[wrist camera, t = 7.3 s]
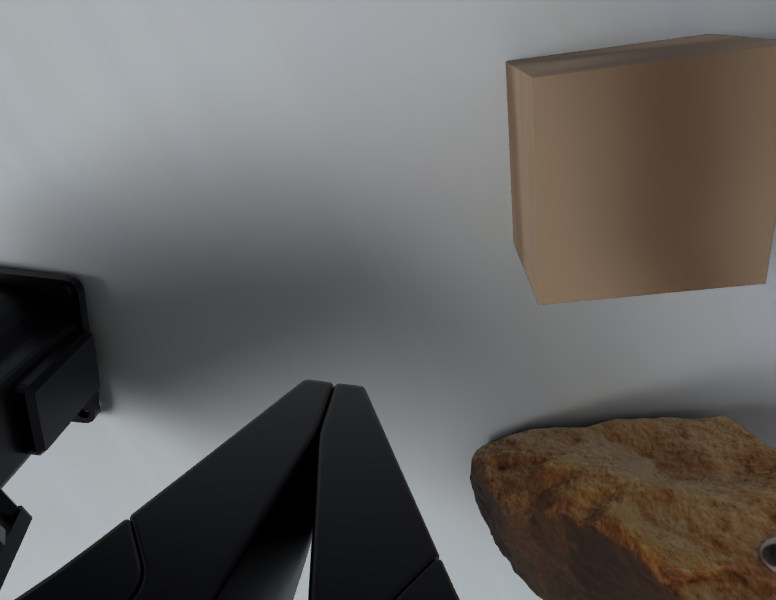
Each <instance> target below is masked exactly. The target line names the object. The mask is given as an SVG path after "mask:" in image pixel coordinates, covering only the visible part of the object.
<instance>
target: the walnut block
mask: <svg viewBox="0 0 776 600" xmlns="http://www.w3.org/2000/svg"><path fill="white" fill-rule="evenodd" d="M506 79H507V102H508V124H509V147H510V170H511V193H512V216H513V238H514V245H515V248H516V250H517V253H518V255H519V258H520V260H521V263H522V265H523V268H524V270H525V273H526V275H527V278H528V280H529V283H530V285H531V288H532V290H533V293H534V295H535V298H536V300H537V303H538V305H544V304H554V303H565V302H575V301H586V300H596V299H607V298H618V297H628V296H639V295H649V294H660V293H670V292H681V291H691V290H702V289H712V288H723V287H733V286H744V285H755V284H765V283H766V278H767V271H768V264H769V258H770V251H771V245H772V238H773V232H774V225H775V219H776V40H772V39H761V38H749V37H738V36H727V35H716V34H705V35H697V36H690V37H682V38H675V39H668V40H660V41H653V42H645V43H638V44H631V45H623V46H616V47H608V48H601V49H594V50H586V51H579V52H571V53H564V54H557V55H549V56H542V57H535V58H527V59H520V60H512V61H506Z"/></svg>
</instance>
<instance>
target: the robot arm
mask: <svg viewBox="0 0 776 600" xmlns="http://www.w3.org/2000/svg"><path fill="white" fill-rule="evenodd" d="M64 286H65V287H68V288H69V289H70V290H71V292H72V294H70V293H68V292H66V291H65V289H64ZM99 388H100V382H99V374H98V367H97V359H96V352H95V344H94V337H93V335H92V333H91V332H90V330H89V324H88V317H87V309H86V302H85V295H84V288H83V286H82V284H81V282H80V281H79V280H78V279H76V278H75V277H72V276H68V275H59V274H50V273H41V272H33V271H24V270H15V269H6V268H0V589H1V587H2V585H3V583H4V580H5V578H6V576H7V574H8V571H9V569H10V567H11V565H12V562H13V560H14V558H15V556H16V553H17V551H18V549H19V547H20V545H21V542H22V540H23V538H24V536H25V533H26V531H27V529H28V527H29V524H30V522H31V520H32V516H31V515H30V514H29V513H28V512H27V511H26V510H25V509H24V508H23V507H22V506H17V505H16V504H15V503H14V502H13V501H12V500H11V499H10V498H9V497H8V496H7V494H6V493H5V492H4V491H3V490H2V487H3V486H4V485H5V484H6V483H7V482H8V481H9V479H10V478H11V477H12V476H13V475H14V474H15V473H16V471H17V470H18V469H19V468H20V467H21V466H22V464H23V463H24V462H25V461H26V460H27V459H28V458H29V456H30V455H31V454H32V455H41V454H42V453H44V452H45V451H46V450H47V449H48V448H49V447H50V446H51V445H52V444H53V442H54V441H55V440H56V439H57V438H58V437H59V435H60V434H61V433H62V432H63V431H64V429H65V428H66V427H67V426H68V425H69V424H70V422H71V421H72V422H81V423H89V422H92V421H93V420H94V419H95V418H96V416H97V415H98V414H99V412H100V405H99V398H98V389H99ZM83 408H84V409H86V410H87V411H88V412H86V411H85V410H83ZM311 539H312V545H311V562H310V579H309V597H308V600H460V599H459V597H458V595H457V593H456V591H455V589H454V587H453V585H452V583H451V580H450V578H449V576H448V574H447V571H446V569H445V567H444V565H443V562H442V561H441V560H439V554H438V552H437V550H436V547H435V545H434V543H433V541H432V538H431V536H430V534H429V532H428V529H427V527H426V525H425V523H424V520H423V518H422V516H421V514H420V511H419V509H418V507H417V505H416V502H415V500H414V498H413V496H412V493H411V491H410V489H409V487H408V484H407V482H406V480H405V478H404V475H403V473H402V471H401V469H400V466H399V464H398V462H397V460H396V457H395V455H394V453H393V451H392V448H391V446H390V444H389V442H388V439H387V437H386V435H385V433H384V430H383V428H382V426H381V424H380V421H379V419H378V417H377V415H376V412H375V410H374V408H373V406H372V403H371V401H370V399H369V397H368V394H367V392H366V390H365V388H363V387H362V386H356V385H347V384H337V385H335V387H334V386H333V384H332V383H330V382H323V381H315V380H305V381H303V382H301V383H300V384H299V385H297V386H296V387H295V388H293V389H292V390H291V391H290V392H288V393H287V394H286V395H285V396H283V397H282V398H281V399H279V400H278V401H277V402H276V403H274V404H273V405H272V406H270V407H269V408H268V409H267V410H265V411H264V412H263V413H261V414H260V415H259V416H258V417H256V418H255V419H254V420H252V421H251V422H250V423H249V424H247V425H246V426H245V427H243V428H242V429H241V430H240V431H238V432H237V433H236V434H235V435H233V436H232V437H231V438H229V439H228V440H227V441H226V442H224V443H223V444H222V445H220V446H219V447H218V448H217V449H215V450H214V451H213V452H211V453H210V454H209V455H208V456H206V457H205V458H204V459H202V460H201V461H200V462H199V463H197V464H196V465H195V466H193V467H192V468H191V469H190V470H188V471H187V472H186V473H185V474H183V475H182V476H181V477H179V478H178V479H177V480H176V481H174V482H173V483H172V484H170V485H169V486H168V487H167V488H165V489H164V490H163V491H161V492H160V493H159V494H158V495H156V496H155V497H154V498H152V499H151V500H150V501H149V502H147V503H146V504H145V505H143V506H142V507H141V508H140V509H138V510H137V511H136V512H135V513H133V514H132V515H131V517H130V520H124V521H123V522H121V523H120V524H119V525H117V526H116V527H115V528H114V529H112V530H111V531H110V532H108V533H107V534H106V535H105V536H103V537H102V538H101V539H99V540H98V541H97V542H95V543H94V544H93V545H91V546H90V547H89V548H87V549H86V550H85V551H83V552H82V553H81V554H79V555H78V556H77V557H75V558H74V559H73V560H71V561H70V562H68V563H67V564H66V565H64V566H63V567H62V568H60V569H59V570H58V571H56V572H55V573H53V574H52V575H50V576H49V577H47V578H46V579H44V580H43V581H42V582H40V583H39V584H37V585H36V586H34V587H33V588H31V589H30V590H28V591H27V592H25V593H24V594H22V595H21V596H19V597H18V598H16V599H15V600H293V598H294V595H295V592H296V589H297V586H298V583H299V580H300V577H301V573H302V570H303V567H304V564H305V561H306V557H307V554H308V551H309V547H310V544H311Z"/></svg>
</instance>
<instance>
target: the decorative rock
mask: <svg viewBox="0 0 776 600" xmlns="http://www.w3.org/2000/svg"><path fill="white" fill-rule="evenodd" d="M470 480H471V484H472V488H473V491H474V495H475V500H476V503H477V505H478V507H479V510H480V512H481V515H482V517H483V518H484V520H485V522H486V523H487V525H488V527H489V529H490V532H491V535H493V539H494V541H495V544H496V545H497V546H498V547H499V549H500V551H501V553H502V554H503V556H504V557H506V558H507V559H508V560H509V561H510V562H511V565H512V568H513V570H514V572H515V573H516V574H517V575H519V576H520V577H521V578H522V579H523V580H524V581H525V583H526V584H527V585H528V587H529V588H530V589H531V590H532V591H533V592H534V593H535V594H536V595H537V596H539V597H540V598H542V599H543V600H776V448H772V447H769V446H767V445H765V444H764V443H763V442H761V441H760V440H759V439H757V438H756V437H755V436H753V435H752V434H750V433H749V432H748V431H747V430H745V429H744V428H743V427H742V426H740V425H739V424H737V423H736V422H734V421H733V420H731V419H729V418H728V417H723V416H717V417H710V418H702V419H683V418H673V417H660V418H636V419H613V420H609V421H605V422H602V423H598V424H595V425H592V426H589V427H572V428H565V427H553V428H542V429H530V430H526V431H523V432H519V433H515V434H512V435H508V436H506V437H504V438H501V439H499V440H497V441H494V442H490V443H488V444H486V445H484V446H482V447H481V448H480V449H478V450H477V451H476V452H475V454H474V456H473V457H472V465H471V475H470Z"/></svg>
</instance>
